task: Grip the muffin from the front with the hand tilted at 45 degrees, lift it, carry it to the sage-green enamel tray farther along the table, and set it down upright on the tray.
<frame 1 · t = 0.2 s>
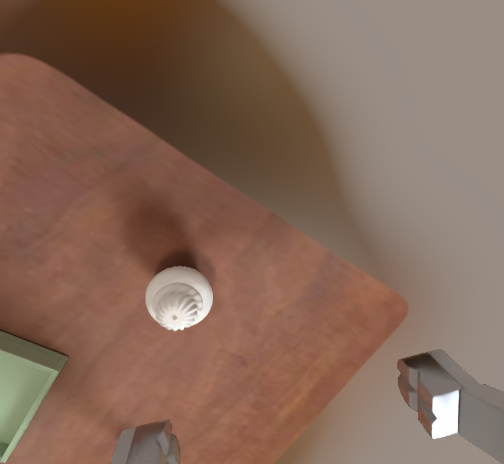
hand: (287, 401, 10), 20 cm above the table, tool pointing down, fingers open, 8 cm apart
muffin: (183, 279, 31), on the table
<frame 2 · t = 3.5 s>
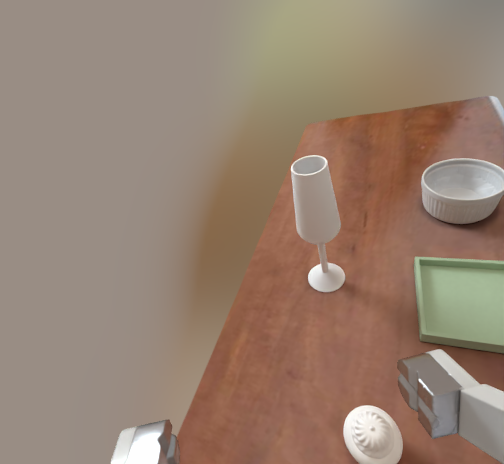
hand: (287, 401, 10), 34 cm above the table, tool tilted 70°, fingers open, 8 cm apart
champagne flute: (326, 277, 54), on the table
ramekin: (455, 207, 58), on the table
muffin: (371, 444, 35), on the table
tray: (491, 306, 43), on the table
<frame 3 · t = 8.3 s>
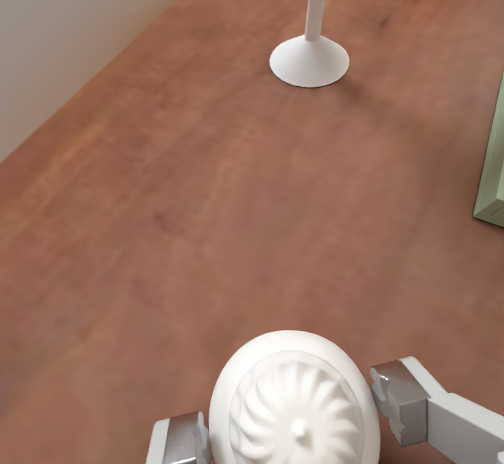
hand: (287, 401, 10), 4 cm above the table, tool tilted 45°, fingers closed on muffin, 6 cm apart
champagne flute: (308, 62, 25), on the table
muffin: (286, 407, 14), on the table, touching gripper
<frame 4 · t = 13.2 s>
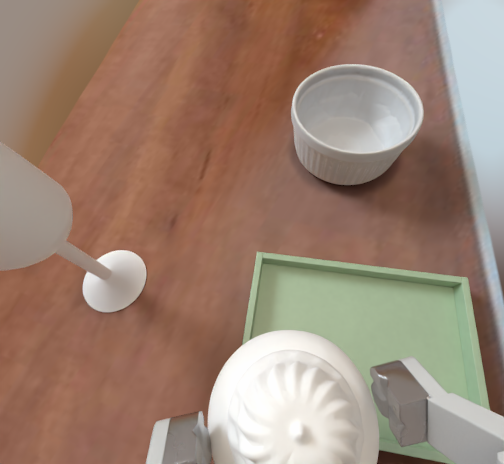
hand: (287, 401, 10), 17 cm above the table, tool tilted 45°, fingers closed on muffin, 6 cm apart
champagne flute: (115, 280, 31), on the table
ramekin: (341, 151, 36), on the table
muffin: (285, 406, 14), point 12 cm above the table, touching gripper
tray: (351, 345, 26), on the table
when the fingers open (5 cm above the table, at t = 18.1 s): muffin stays where it is, resting on tray.
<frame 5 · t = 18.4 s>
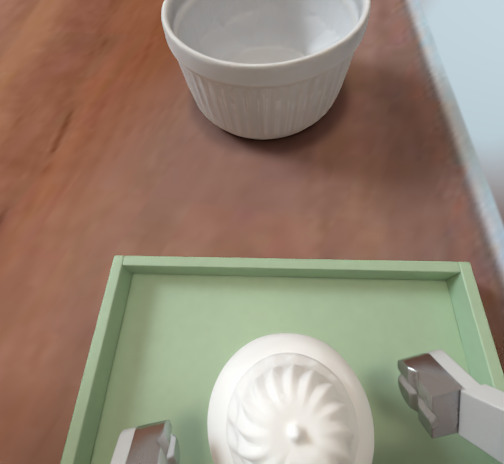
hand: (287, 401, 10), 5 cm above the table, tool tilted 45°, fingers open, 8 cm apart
ramekin: (265, 95, 25), on the table
muffin: (284, 407, 14), resting on tray
tray: (284, 406, 15), on the table
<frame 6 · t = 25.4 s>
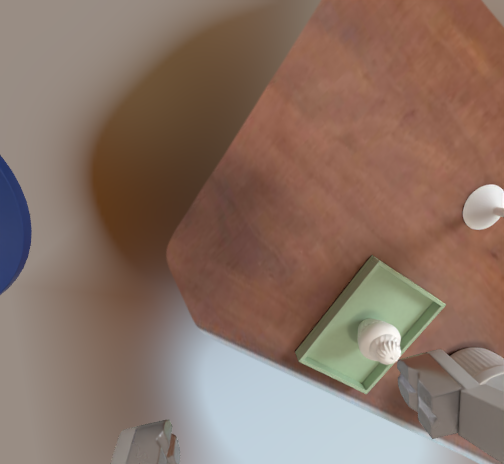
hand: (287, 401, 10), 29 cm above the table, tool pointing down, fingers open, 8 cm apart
champagne flute: (483, 207, 42), on the table
ramekin: (462, 370, 52), on the table
muffin: (366, 326, 45), resting on tray
tray: (365, 324, 46), on the table
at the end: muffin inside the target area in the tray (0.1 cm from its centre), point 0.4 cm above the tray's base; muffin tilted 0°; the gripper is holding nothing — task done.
